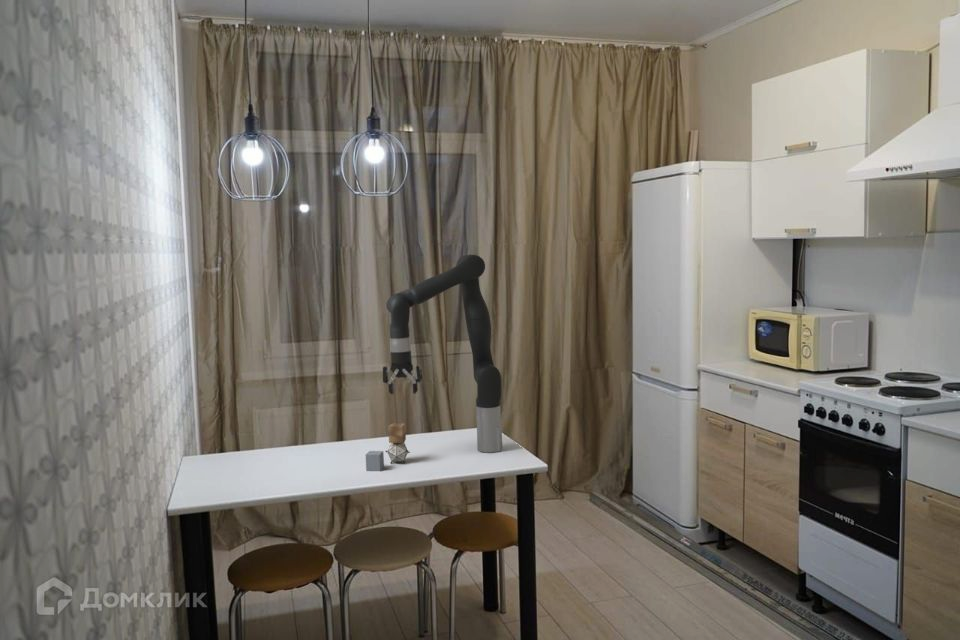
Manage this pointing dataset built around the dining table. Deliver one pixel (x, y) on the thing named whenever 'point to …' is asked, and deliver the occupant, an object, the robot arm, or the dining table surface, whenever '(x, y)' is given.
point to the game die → (397, 452)
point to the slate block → (374, 460)
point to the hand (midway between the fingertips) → (403, 393)
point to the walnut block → (397, 433)
